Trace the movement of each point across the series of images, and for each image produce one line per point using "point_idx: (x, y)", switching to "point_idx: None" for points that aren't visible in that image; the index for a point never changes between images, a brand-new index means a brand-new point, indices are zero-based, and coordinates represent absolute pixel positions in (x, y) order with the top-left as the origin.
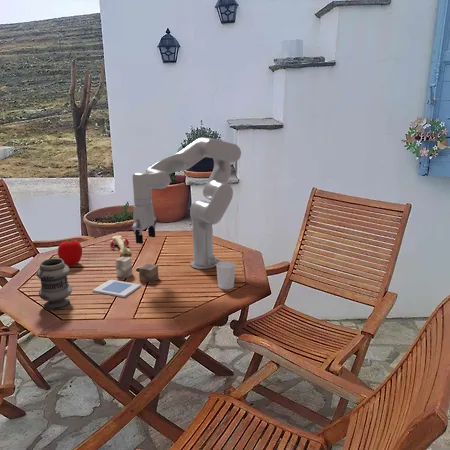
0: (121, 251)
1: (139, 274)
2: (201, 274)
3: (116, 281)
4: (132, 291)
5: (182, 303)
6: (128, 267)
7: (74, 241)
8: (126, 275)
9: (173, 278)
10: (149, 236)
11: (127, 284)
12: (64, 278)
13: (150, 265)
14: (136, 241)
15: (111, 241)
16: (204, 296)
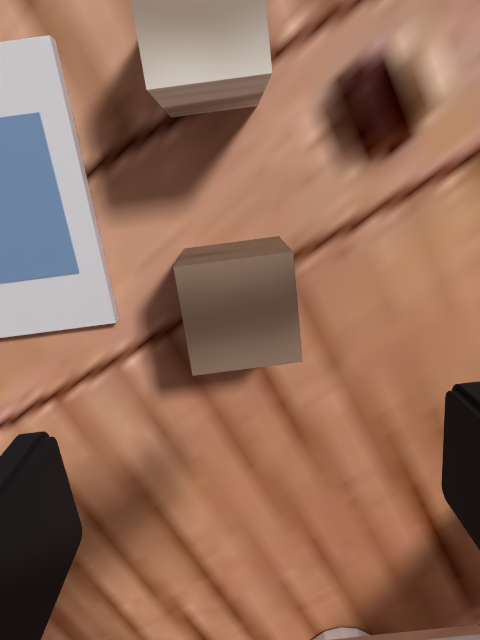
0: None
1: (180, 258)
2: (437, 502)
3: (52, 121)
4: (19, 333)
5: (83, 602)
6: (209, 99)
7: None
8: (177, 113)
9: (319, 409)
10: (446, 406)
11: (60, 243)
12: None
13: (275, 311)
14: (11, 458)
15: None
16: (198, 634)
